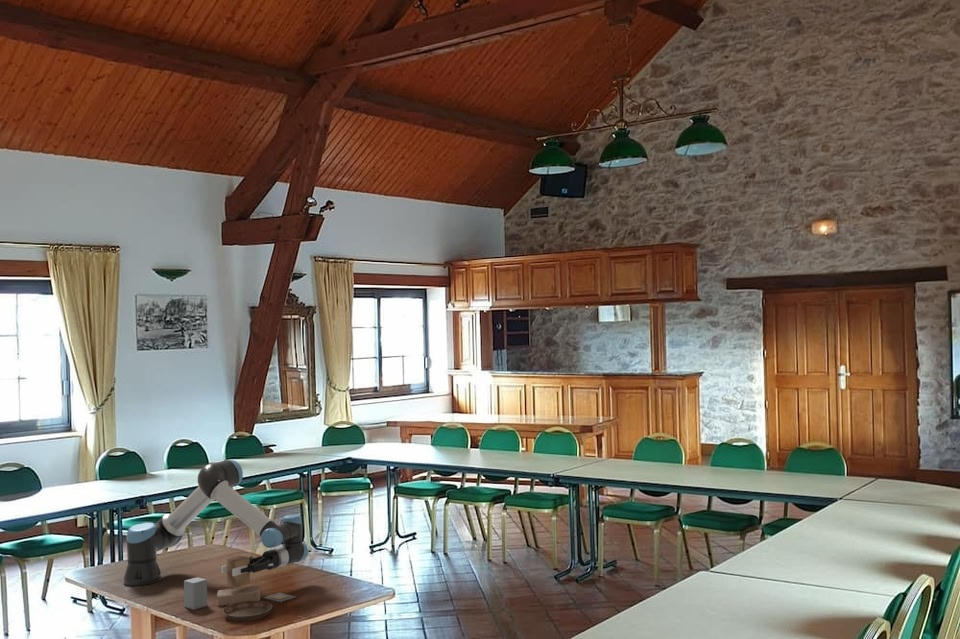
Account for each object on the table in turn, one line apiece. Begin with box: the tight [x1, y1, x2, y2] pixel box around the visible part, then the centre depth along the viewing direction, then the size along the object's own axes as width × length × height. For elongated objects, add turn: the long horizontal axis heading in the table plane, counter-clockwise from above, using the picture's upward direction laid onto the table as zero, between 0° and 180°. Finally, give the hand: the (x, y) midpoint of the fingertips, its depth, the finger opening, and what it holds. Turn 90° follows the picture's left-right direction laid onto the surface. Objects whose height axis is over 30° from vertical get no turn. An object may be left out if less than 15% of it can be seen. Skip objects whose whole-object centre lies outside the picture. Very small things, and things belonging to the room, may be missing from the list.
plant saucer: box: [222, 600, 273, 622], centre depth 338 cm, size 18×18×3 cm
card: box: [263, 592, 297, 603], centre depth 359 cm, size 10×8×1 cm
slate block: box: [183, 576, 208, 610], centre depth 351 cm, size 6×6×10 cm
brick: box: [215, 585, 262, 607], centre depth 356 cm, size 16×8×5 cm, turn 105°
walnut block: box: [226, 555, 251, 588], centre depth 357 cm, size 6×6×10 cm
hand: (227, 571), depth 353 cm, fingers closed on walnut block, 6 cm apart
